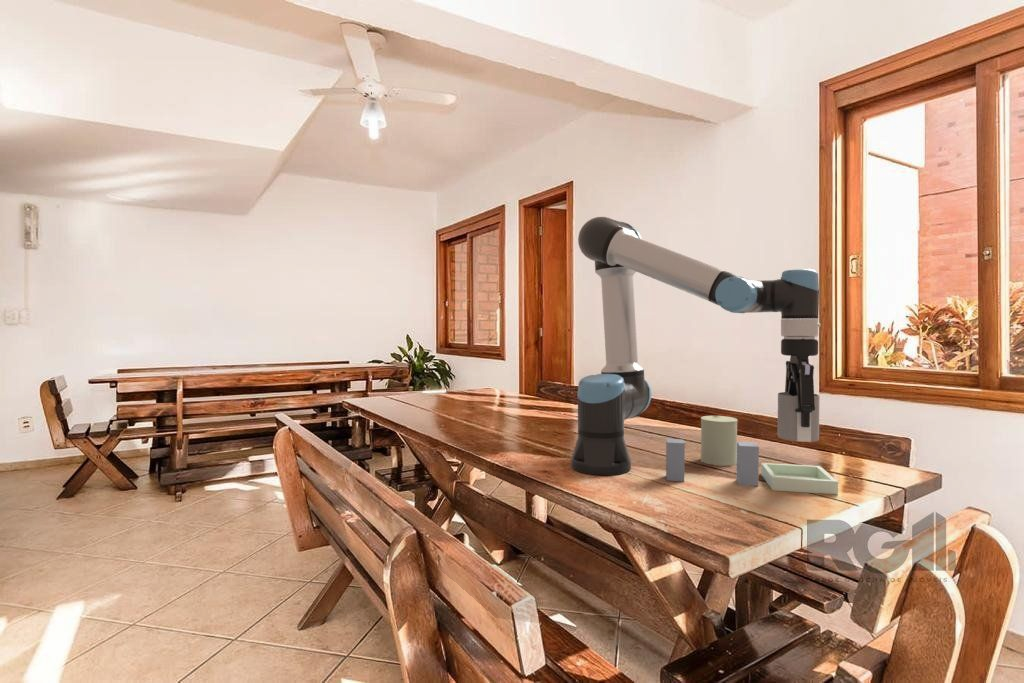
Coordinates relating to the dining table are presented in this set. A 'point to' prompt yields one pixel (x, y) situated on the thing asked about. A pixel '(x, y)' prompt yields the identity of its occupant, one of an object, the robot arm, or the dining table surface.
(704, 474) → the dining table surface
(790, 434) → the cup
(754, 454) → the block
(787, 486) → the tray
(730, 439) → the can
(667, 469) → the block
